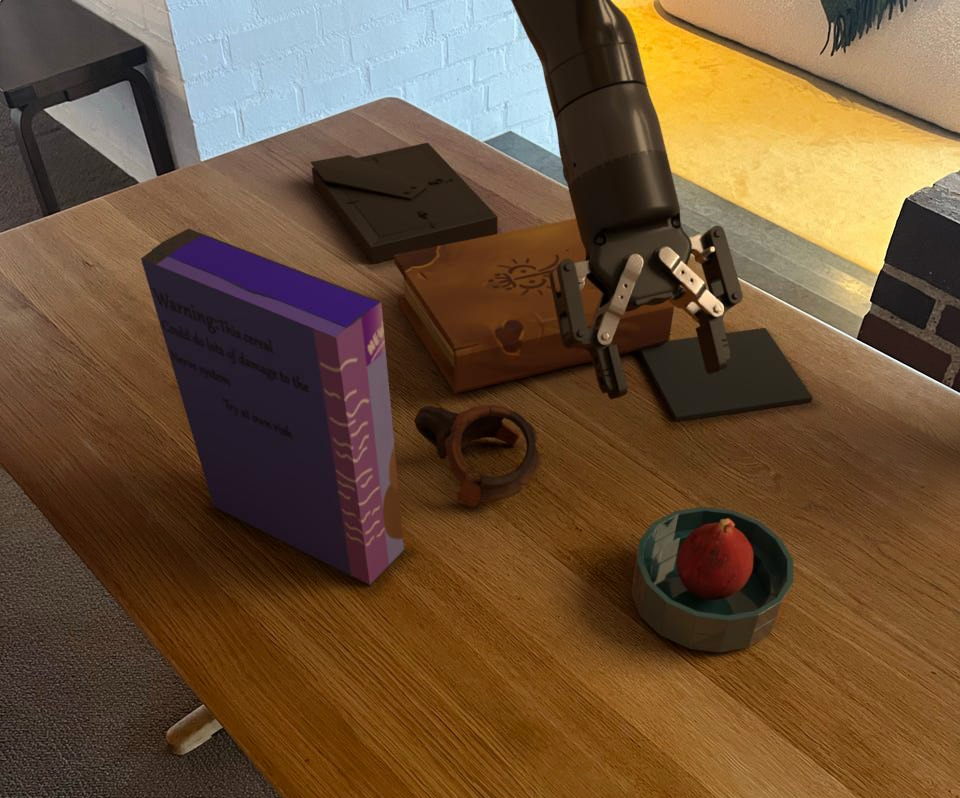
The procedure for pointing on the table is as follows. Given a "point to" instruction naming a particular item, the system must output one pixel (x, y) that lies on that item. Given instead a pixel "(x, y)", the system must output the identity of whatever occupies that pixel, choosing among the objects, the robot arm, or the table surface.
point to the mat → (724, 377)
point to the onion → (715, 560)
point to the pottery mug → (470, 425)
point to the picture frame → (402, 201)
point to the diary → (507, 306)
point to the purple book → (283, 399)
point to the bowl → (705, 619)
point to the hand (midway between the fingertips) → (669, 384)
